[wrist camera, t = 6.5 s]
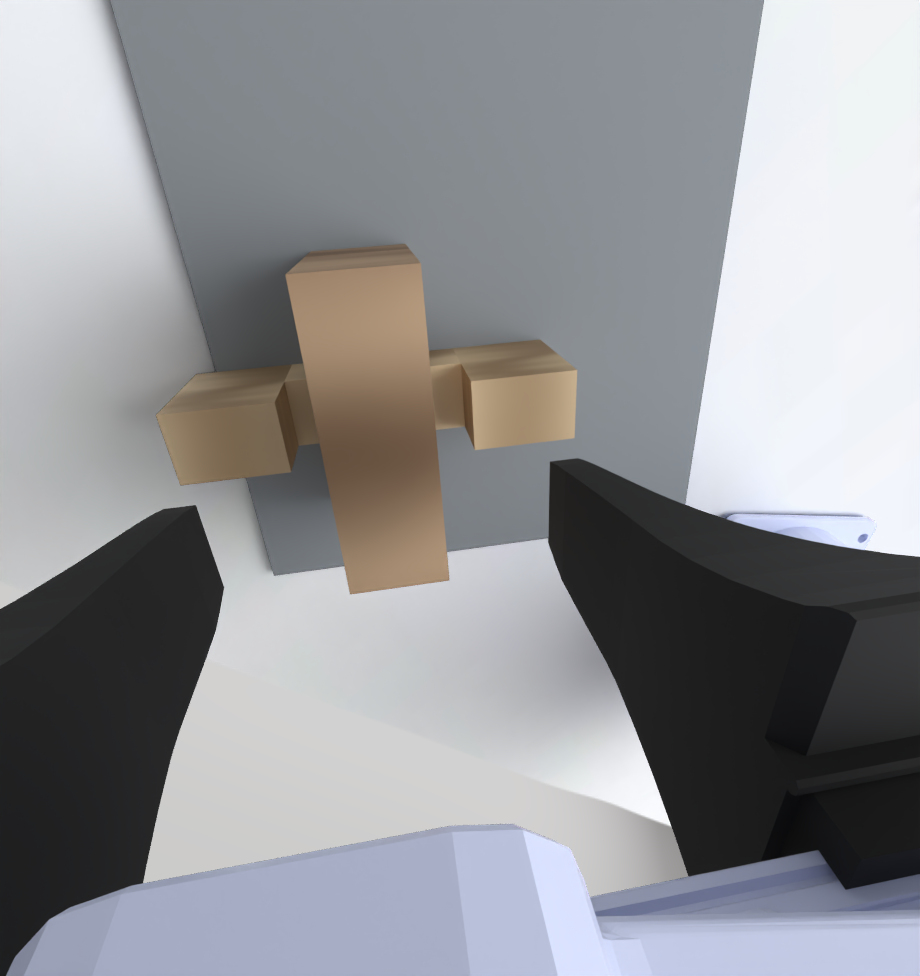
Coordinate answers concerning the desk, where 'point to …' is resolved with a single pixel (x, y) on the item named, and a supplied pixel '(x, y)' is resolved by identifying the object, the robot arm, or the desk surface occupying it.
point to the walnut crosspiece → (373, 410)
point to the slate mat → (462, 207)
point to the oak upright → (290, 419)
